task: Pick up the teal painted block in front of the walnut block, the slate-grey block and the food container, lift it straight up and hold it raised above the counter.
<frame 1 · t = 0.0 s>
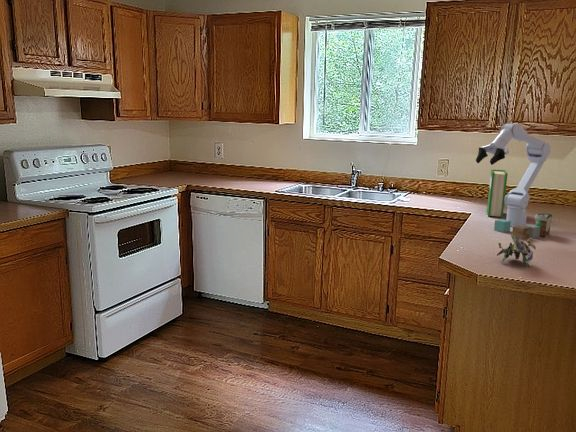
hand: (483, 162, 236), 32 cm above the counter, tool tilted 50°, fingers open, 7 cm apart
food container: (539, 235, 237), on the counter
walnut block: (520, 237, 231), on the counter
passion flower: (514, 264, 189), on the counter
slate-grey block: (531, 236, 233), on the counter
hardback book: (494, 215, 284), on the counter
teal block: (501, 230, 244), on the counter
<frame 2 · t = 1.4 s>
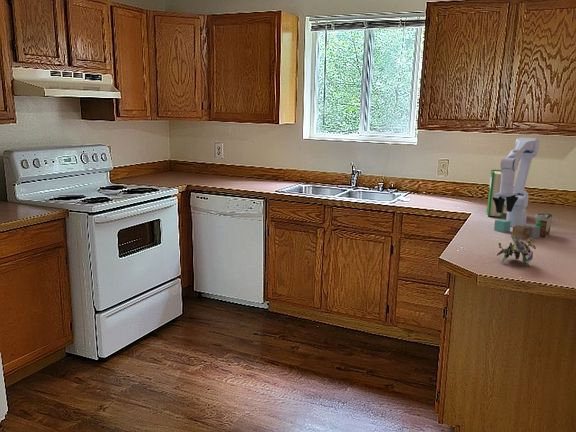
hand: (503, 212, 242), 9 cm above the counter, tool pointing down, fingers open, 7 cm apart
nothing on the counter moved.
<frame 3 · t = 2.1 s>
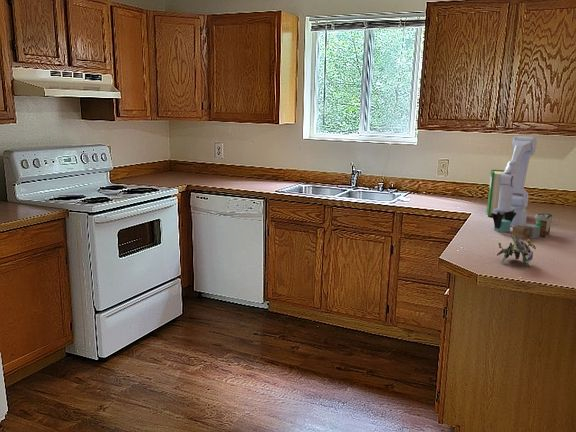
hand: (502, 227, 244), 2 cm above the counter, tool pointing down, fingers open, 7 cm apart
nothing on the counter moved.
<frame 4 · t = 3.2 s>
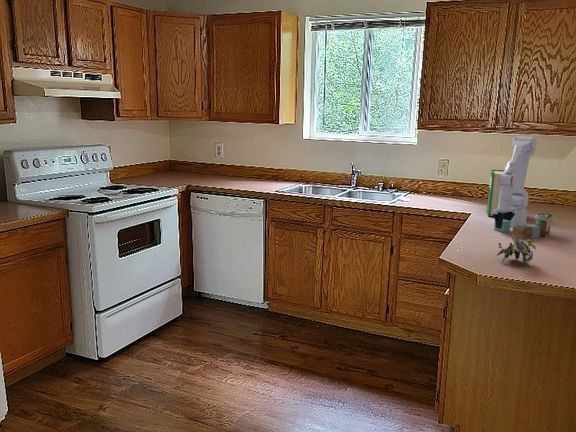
hand: (502, 227, 244), 1 cm above the counter, tool pointing down, fingers closed on teal block, 5 cm apart
teal block: (501, 230, 244), on the counter, touching gripper
everything else where it was.
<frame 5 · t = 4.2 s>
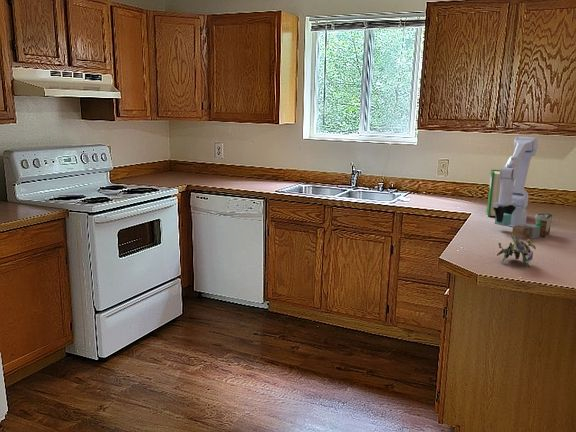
hand: (503, 221, 243), 4 cm above the counter, tool pointing down, fingers closed on teal block, 5 cm apart
teal block: (502, 224, 243), point 3 cm above the counter, touching gripper
everything else where it was.
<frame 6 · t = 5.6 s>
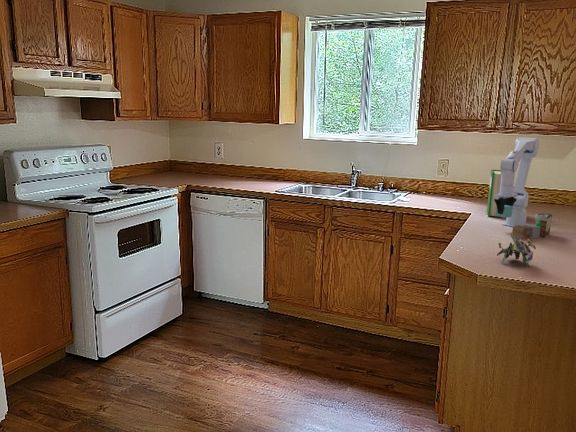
hand: (503, 213, 242), 8 cm above the counter, tool pointing down, fingers closed on teal block, 5 cm apart
teal block: (503, 216, 243), point 7 cm above the counter, touching gripper
everything else where it was.
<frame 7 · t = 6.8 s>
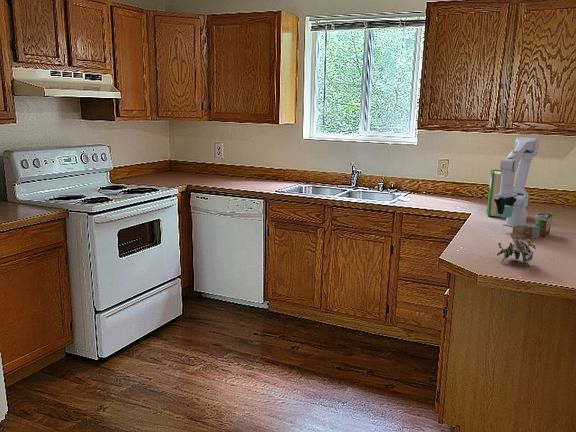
hand: (503, 213, 242), 8 cm above the counter, tool pointing down, fingers closed on teal block, 5 cm apart
teal block: (503, 216, 243), point 7 cm above the counter, touching gripper
everything else where it was.
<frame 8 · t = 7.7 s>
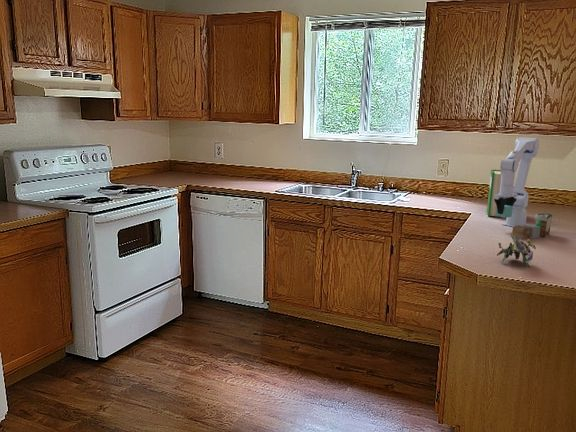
hand: (503, 213, 242), 8 cm above the counter, tool pointing down, fingers closed on teal block, 5 cm apart
teal block: (503, 216, 243), point 7 cm above the counter, touching gripper
everything else where it was.
at the end: the gripper is holding teal block; teal block point 7.0 cm above the counter; slate-grey block moved 0.4 cm from its start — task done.
